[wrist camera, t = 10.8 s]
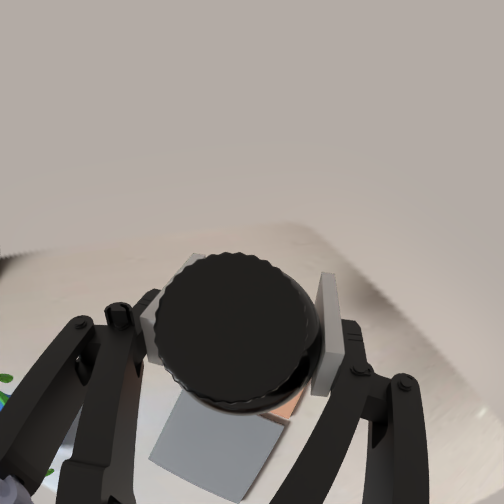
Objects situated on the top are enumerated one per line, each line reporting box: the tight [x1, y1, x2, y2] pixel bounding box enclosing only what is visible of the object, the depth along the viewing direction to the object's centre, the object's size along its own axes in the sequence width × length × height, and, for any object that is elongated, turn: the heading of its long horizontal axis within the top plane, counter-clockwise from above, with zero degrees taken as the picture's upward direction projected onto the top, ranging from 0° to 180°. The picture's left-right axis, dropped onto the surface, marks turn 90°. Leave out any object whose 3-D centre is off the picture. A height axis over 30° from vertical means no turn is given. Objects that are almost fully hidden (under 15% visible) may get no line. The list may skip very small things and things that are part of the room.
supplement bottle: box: [153, 252, 322, 416], centre depth 14 cm, size 7×7×12 cm
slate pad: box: [148, 390, 284, 504], centre depth 27 cm, size 12×12×1 cm
